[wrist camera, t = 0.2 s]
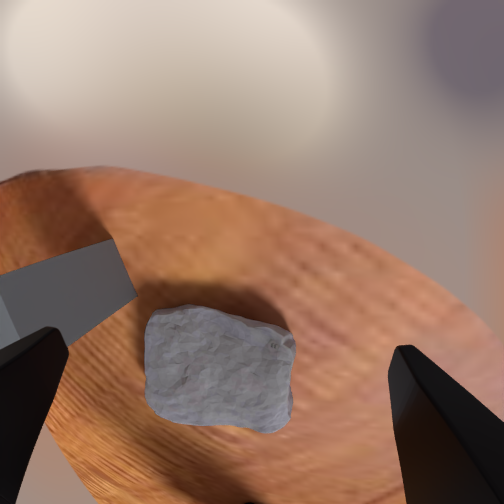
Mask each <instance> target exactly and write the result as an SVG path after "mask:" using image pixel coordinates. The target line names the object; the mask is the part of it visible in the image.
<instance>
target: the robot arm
mask: <svg viewBox="0 0 504 504" xmlns="http://www.w3.org/2000/svg"><path fill="white" fill-rule="evenodd" d="M68 356H69V351H68V348H67V345H66V343H65V341H64V339H63V336H62V334H61V332H60V330H59V329H58V328H56V327H50V326H46V327H44V328H42V329H40V330H38V331H36V332H34V333H32V334H30V335H28V336H26V337H24V338H22V339H20V340H18V341H16V342H14V343H12V344H10V345H8V346H6V347H4V348H2V349H0V504H15V503H16V500H17V496H18V493H19V490H20V487H21V484H22V481H23V478H24V475H25V472H26V469H27V466H28V463H29V460H30V458H31V455H32V452H33V449H34V446H35V444H36V441H37V439H38V436H39V434H40V431H41V429H42V426H43V424H44V421H45V419H46V416H47V414H48V412H49V409H50V407H51V405H52V402H53V400H54V397H55V394H56V391H57V388H58V385H59V382H60V379H61V376H62V374H63V371H64V368H65V365H66V362H67V360H68ZM388 383H389V391H390V400H391V409H392V420H393V430H394V435H395V441H396V446H397V451H398V456H399V461H400V467H401V472H402V478H403V484H404V490H405V497H406V503H407V504H504V422H503V421H502V420H500V419H499V418H498V417H497V416H496V415H495V414H494V413H492V412H491V411H490V410H489V409H488V408H487V407H486V406H484V405H483V404H482V403H481V402H480V401H479V400H478V399H476V398H475V397H474V396H473V395H472V394H471V393H469V392H468V391H467V390H466V389H465V388H464V387H462V386H461V385H460V384H459V383H458V382H457V381H455V380H454V379H453V378H452V377H451V376H449V375H448V374H447V373H446V372H445V371H443V370H442V369H441V368H440V367H439V366H438V365H436V364H435V363H434V362H433V361H432V360H430V359H429V358H428V357H427V356H426V355H424V354H423V353H422V352H421V351H420V350H418V349H417V348H416V347H415V346H413V345H399V346H397V347H396V348H395V350H394V354H393V357H392V360H391V363H390V367H389V370H388ZM246 504H254V503H251V502H248V503H246Z"/></svg>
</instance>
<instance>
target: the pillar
mask: <svg viewBox="0 0 504 504" xmlns="http://www.w3.org/2000/svg"><path fill="white" fill-rule="evenodd" d="M137 296H138V295H137V293H136V291H135V289H134V287H133V284H132V282H131V280H130V278H129V275H128V273H127V271H126V269H125V266H124V264H123V262H122V259H121V257H120V254H119V252H118V250H117V247H116V245H115V242H114V240H113V239H110V240H106V241H103V242H100V243H97V244H93V245H90V246H87V247H84V248H81V249H77V250H74V251H71V252H68V253H65V254H62V255H59V256H56V257H53V258H50V259H47V260H44V261H41V262H38V263H35V264H32V265H29V266H26V267H23V268H20V269H17V270H14V271H12V272H9V273H6V274H3V275H0V349H2V348H4V347H6V346H8V345H10V344H12V343H14V342H16V341H18V340H20V339H22V338H24V337H26V336H28V335H30V334H32V333H34V332H36V331H38V330H40V329H42V328H44V327H46V326H50V327H56V328H58V329H59V330H60V332H61V334H62V336H63V339H64V341H65V343H66V345H67V347H68V346H69V345H71V344H72V343H73V342H75V341H76V340H78V339H79V338H80V337H82V336H83V335H84V334H86V333H87V332H88V331H90V330H91V329H93V328H94V327H95V326H97V325H98V324H99V323H101V322H102V321H104V320H105V319H106V318H108V317H109V316H111V315H112V314H113V313H115V312H116V311H117V310H119V309H120V308H122V307H123V306H124V305H126V304H127V303H129V302H130V301H131V300H133V299H134V298H136V297H137Z"/></svg>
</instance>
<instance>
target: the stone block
mask: <svg viewBox="0 0 504 504" xmlns="http://www.w3.org/2000/svg"><path fill="white" fill-rule="evenodd" d="M144 334H145V337H144V341H145V351H144V365H145V375H146V384H145V398H146V401H147V404H148V405H149V406H150V407H151V408H152V409H153V410H154V412H155V414H157V415H159V416H160V417H162V418H164V419H168V420H170V421H172V422H174V423H181V424H189V425H199V426H212V425H233V426H237V427H247V428H250V429H253V430H255V431H258V432H260V433H273V432H275V431H277V430H279V429H281V428H283V427H284V426H285V425H286V424H287V422H288V421H289V420H290V418H291V411H292V405H293V397H292V392H291V387H290V379H291V369H292V365H293V362H294V358H295V355H296V344H295V340H294V339H293V335H292V333H290V332H289V331H287V330H285V329H283V328H281V327H279V326H277V325H272V324H268V323H264V322H261V321H255V320H251V319H246V318H244V317H240V316H237V315H231V314H227V313H224V312H222V311H220V310H217V309H212V308H209V307H204V306H196V305H191V304H186V305H182V306H179V307H175V308H165V309H157V310H155V311H154V312H153V313H152V316H151V317H150V319H149V321H148V323H147V325H146V329H145V332H144Z"/></svg>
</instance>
